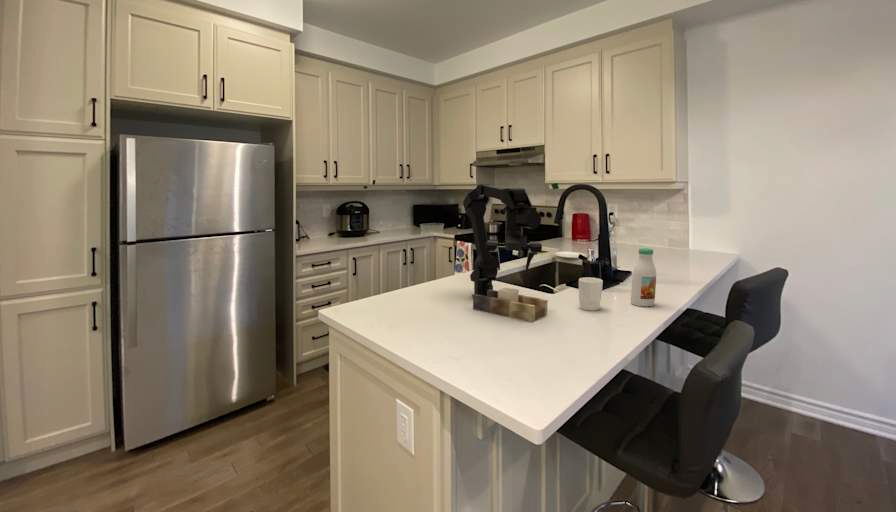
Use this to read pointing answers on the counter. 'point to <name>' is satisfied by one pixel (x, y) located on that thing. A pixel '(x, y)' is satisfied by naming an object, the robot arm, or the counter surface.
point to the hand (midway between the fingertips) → (512, 270)
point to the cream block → (508, 294)
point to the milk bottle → (644, 279)
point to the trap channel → (511, 306)
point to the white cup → (590, 293)
